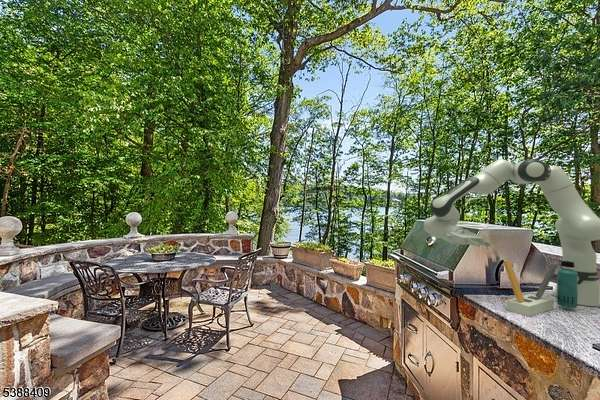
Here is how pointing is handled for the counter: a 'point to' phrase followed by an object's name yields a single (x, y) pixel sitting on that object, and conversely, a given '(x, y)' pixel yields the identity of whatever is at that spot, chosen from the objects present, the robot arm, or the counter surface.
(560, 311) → the counter surface
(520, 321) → the counter surface
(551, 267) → the bar
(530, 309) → the cream base with pads
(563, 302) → the beverage bottle
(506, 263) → the orange bar
